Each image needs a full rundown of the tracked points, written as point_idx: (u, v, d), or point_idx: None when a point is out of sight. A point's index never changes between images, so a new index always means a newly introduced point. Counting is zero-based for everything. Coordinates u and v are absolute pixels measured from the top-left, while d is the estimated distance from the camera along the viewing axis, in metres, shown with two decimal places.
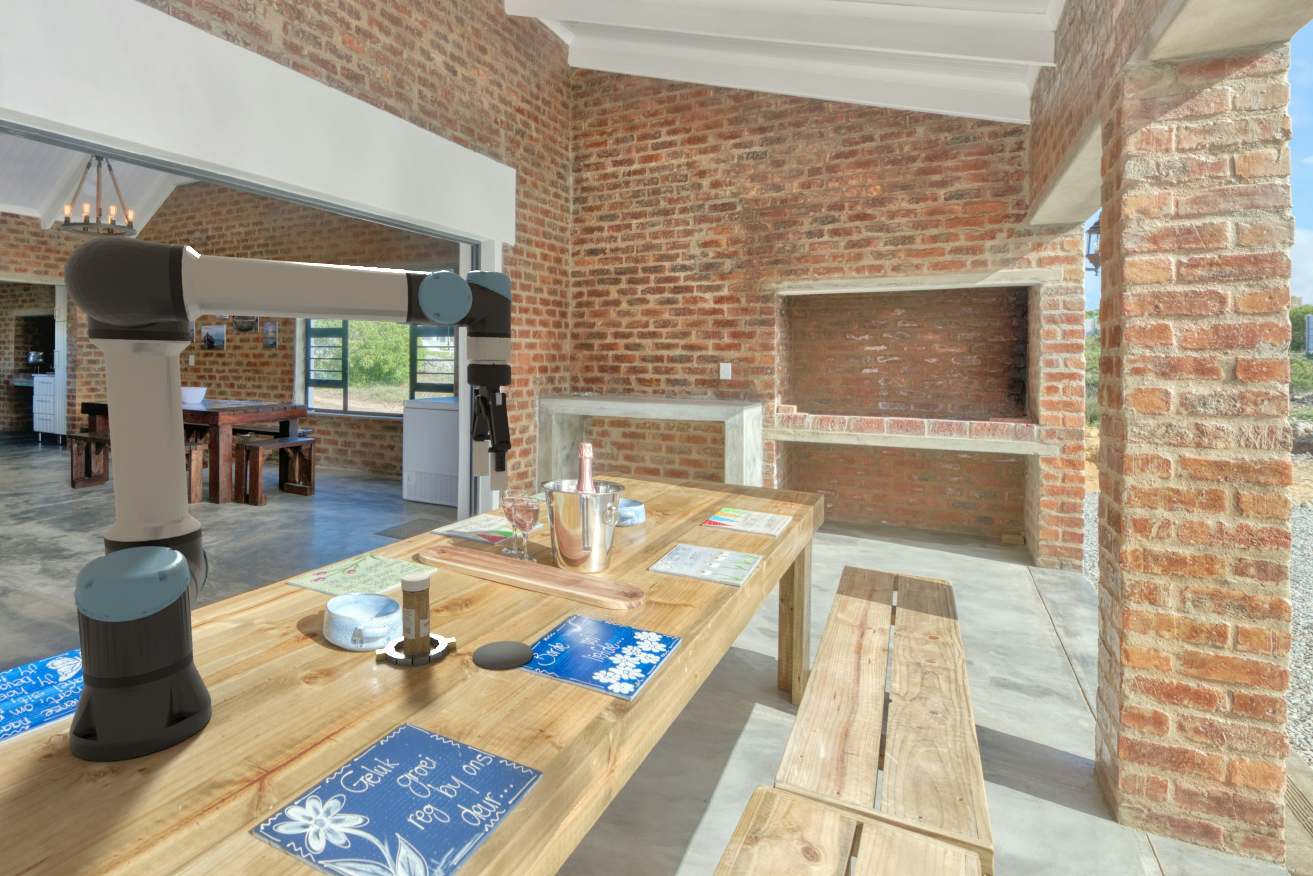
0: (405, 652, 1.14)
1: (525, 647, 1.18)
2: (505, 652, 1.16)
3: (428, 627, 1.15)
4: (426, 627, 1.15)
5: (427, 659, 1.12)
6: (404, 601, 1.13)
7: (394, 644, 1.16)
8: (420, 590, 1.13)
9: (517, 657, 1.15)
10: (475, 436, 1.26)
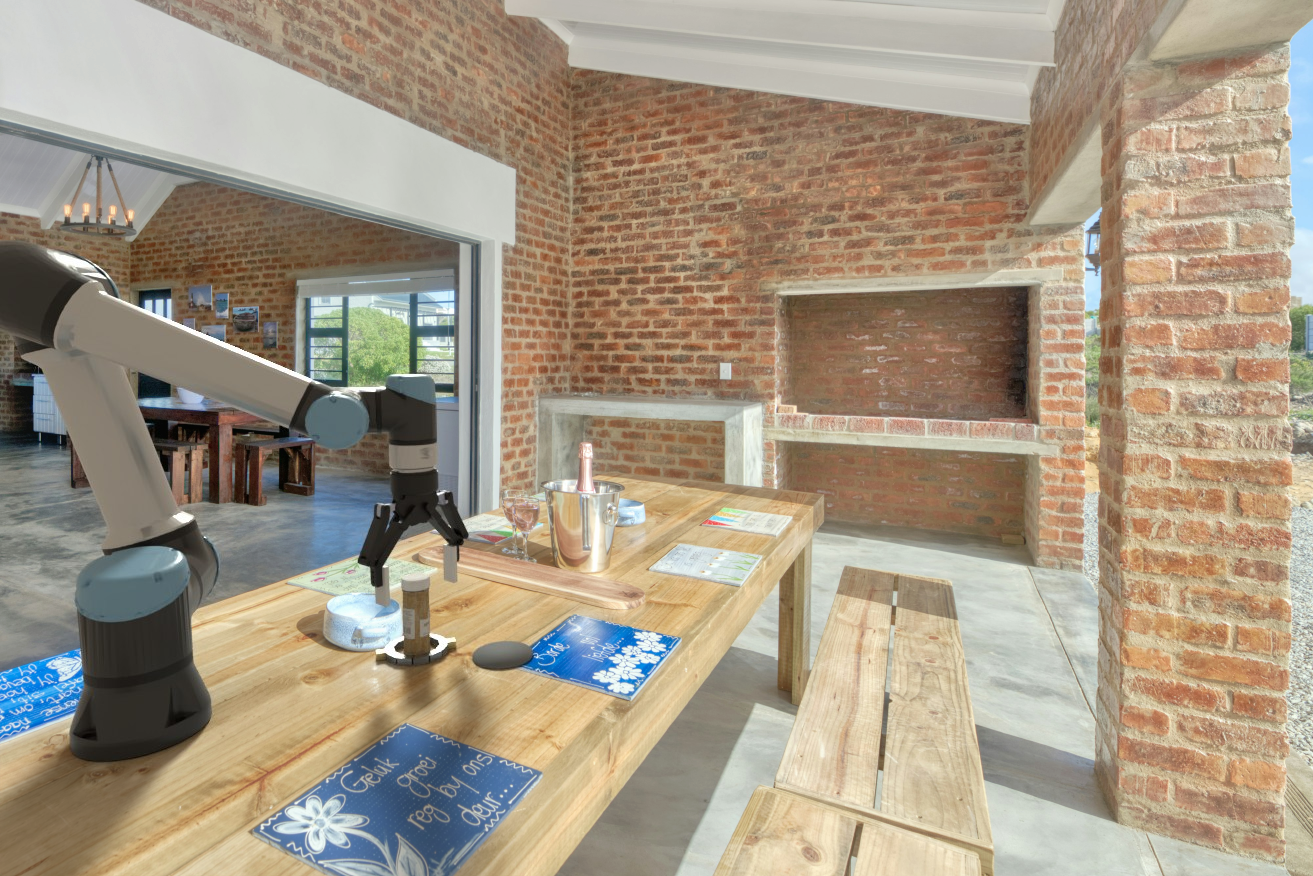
0: (405, 652, 1.14)
1: (525, 647, 1.18)
2: (505, 652, 1.16)
3: (428, 627, 1.15)
4: (426, 627, 1.15)
5: (427, 659, 1.12)
6: (404, 601, 1.13)
7: (394, 644, 1.16)
8: (420, 590, 1.13)
9: (517, 657, 1.15)
10: (445, 539, 1.20)
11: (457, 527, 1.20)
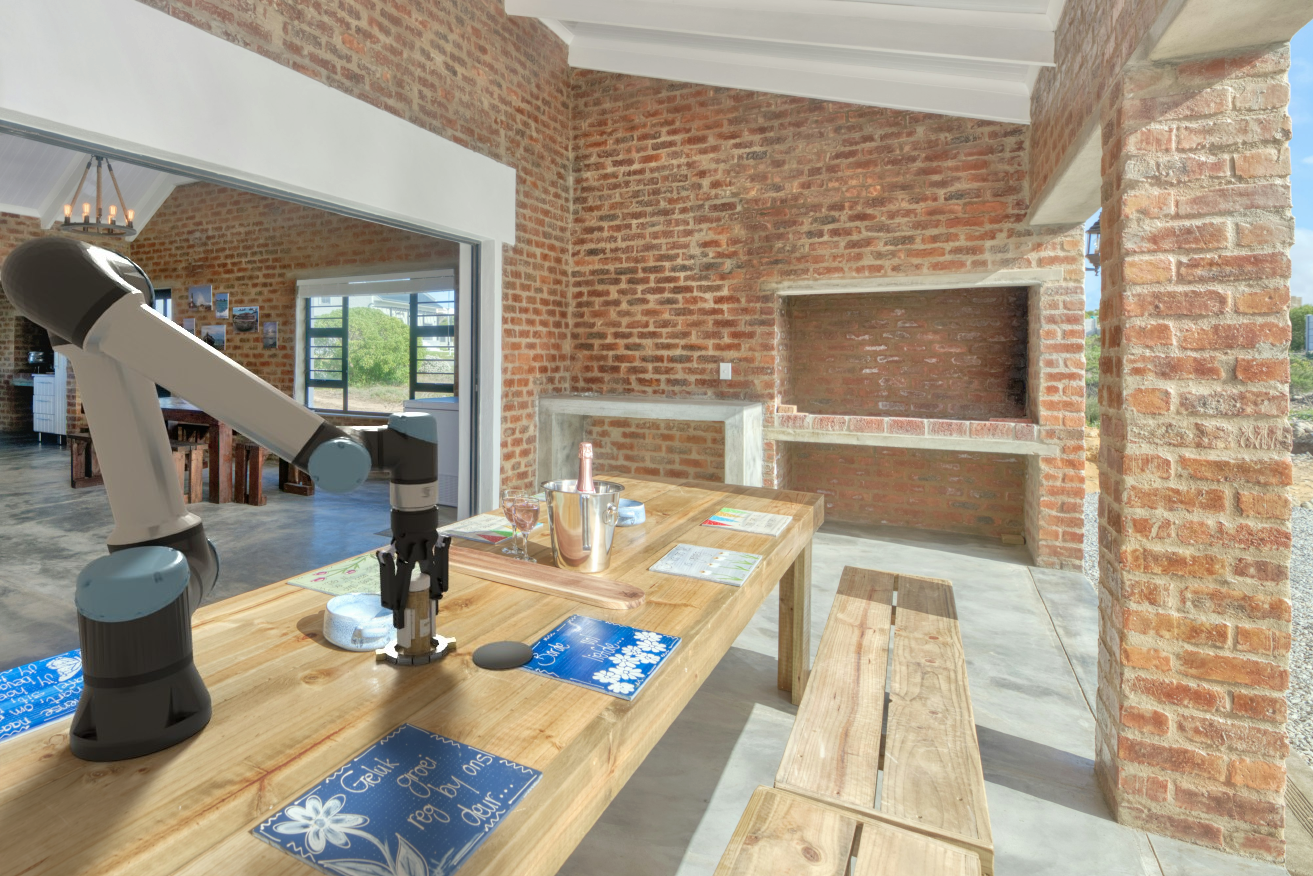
0: (405, 652, 1.14)
1: (525, 647, 1.18)
2: (505, 652, 1.16)
3: (428, 627, 1.15)
4: (426, 627, 1.15)
5: (427, 659, 1.12)
6: None
7: (394, 644, 1.16)
8: (420, 590, 1.13)
9: (517, 657, 1.15)
10: None
11: (441, 576, 1.18)
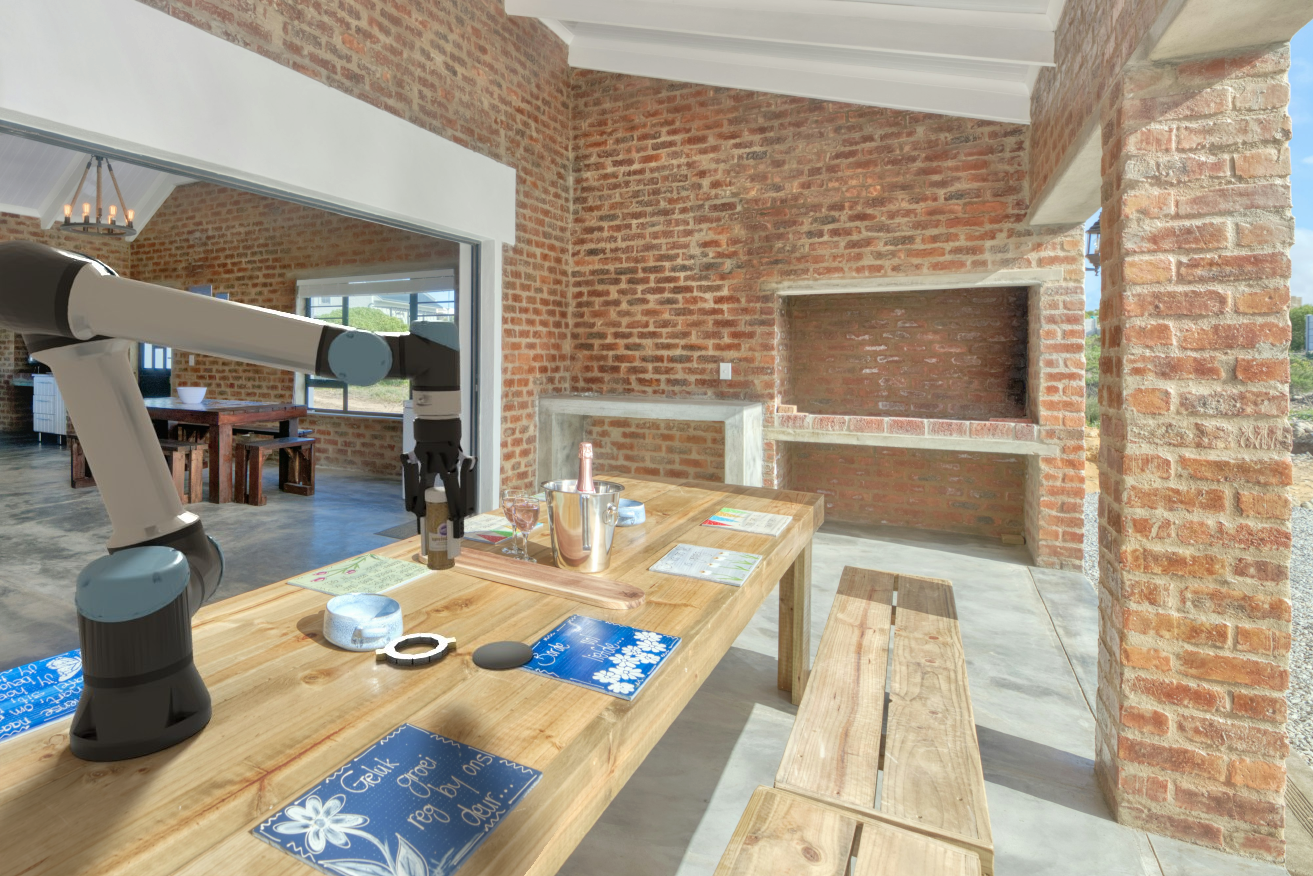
0: None
1: (525, 647, 1.18)
2: (505, 652, 1.16)
3: (438, 544, 1.12)
4: (435, 542, 1.12)
5: (427, 659, 1.12)
6: None
7: (394, 644, 1.16)
8: (428, 501, 1.11)
9: (517, 657, 1.15)
10: None
11: None
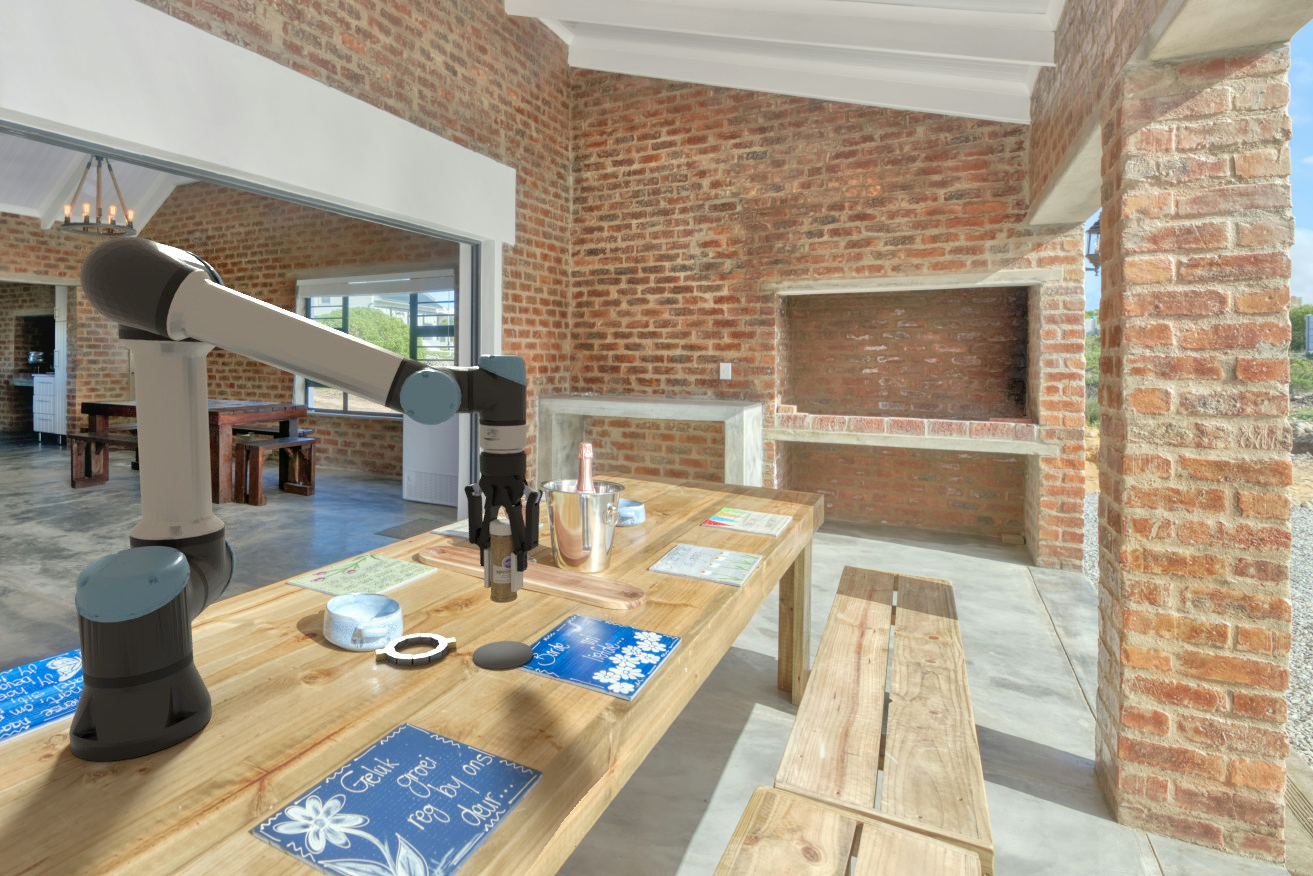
0: None
1: (525, 647, 1.18)
2: (505, 652, 1.16)
3: (503, 576, 1.12)
4: (499, 575, 1.12)
5: (427, 659, 1.12)
6: None
7: (394, 644, 1.16)
8: (493, 534, 1.11)
9: (517, 657, 1.15)
10: None
11: None
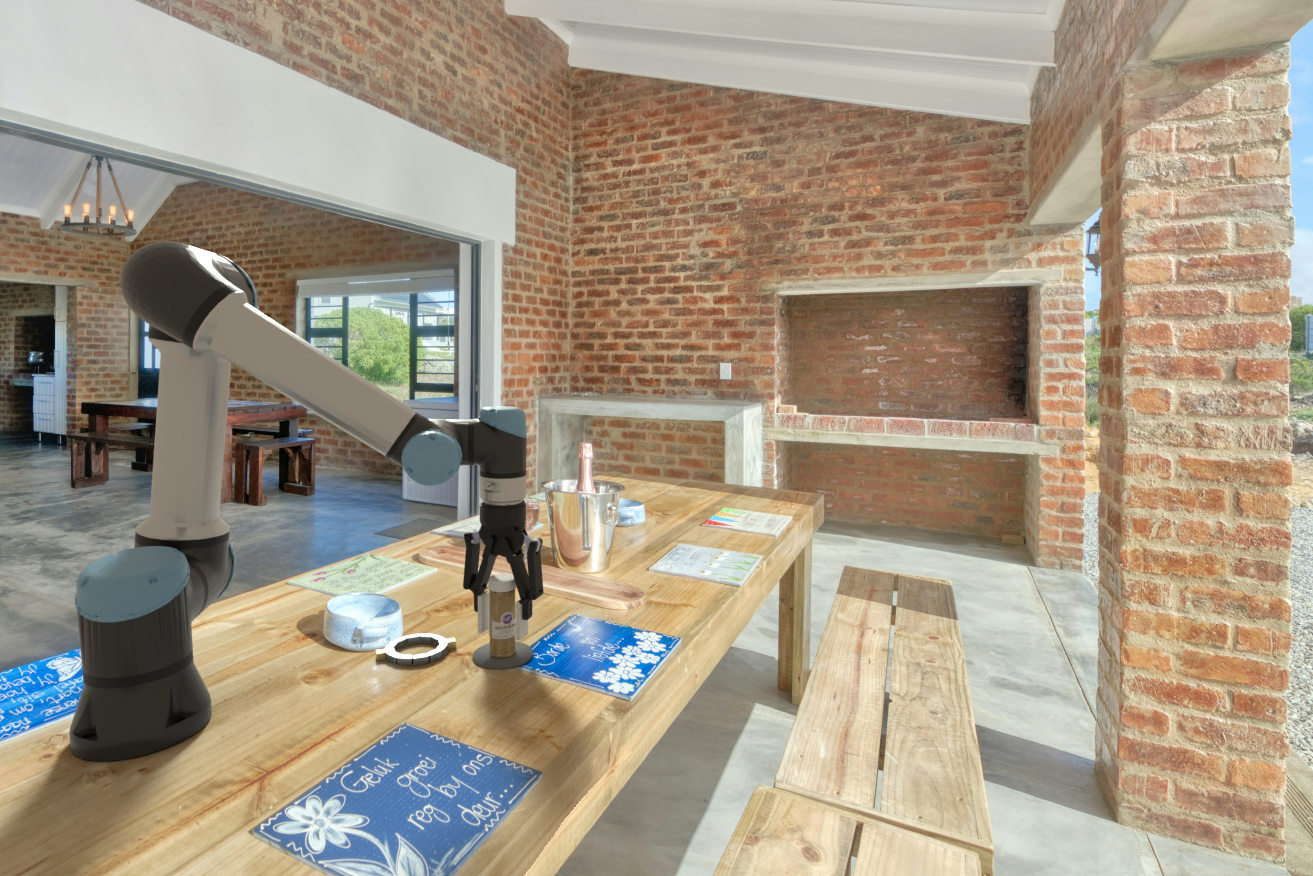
0: None
1: (525, 647, 1.18)
2: None
3: (501, 632, 1.13)
4: (498, 631, 1.13)
5: (427, 659, 1.12)
6: None
7: (394, 644, 1.16)
8: (492, 591, 1.13)
9: (517, 657, 1.15)
10: None
11: None
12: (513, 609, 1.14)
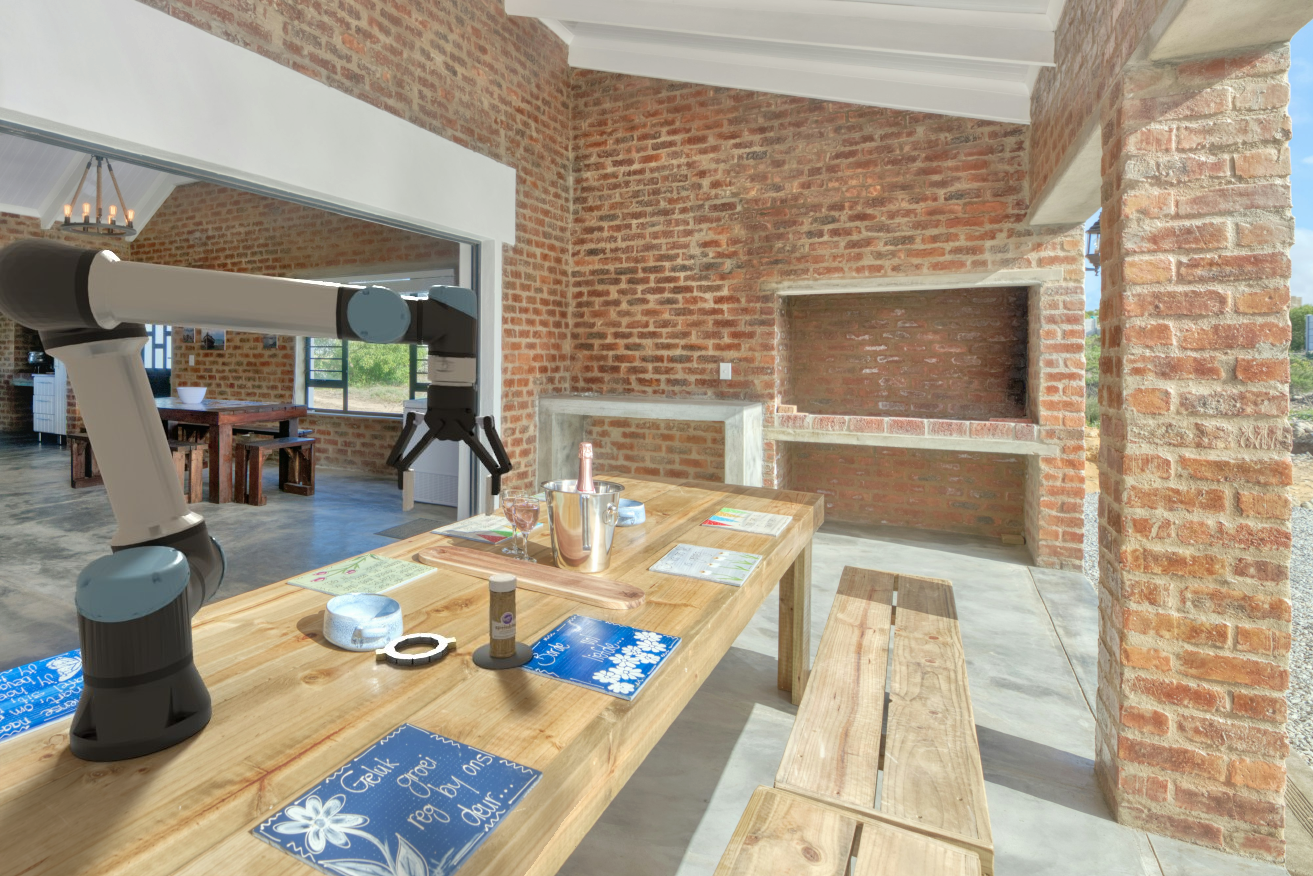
0: None
1: (525, 647, 1.18)
2: None
3: (501, 632, 1.13)
4: (498, 631, 1.13)
5: (427, 659, 1.12)
6: None
7: (394, 644, 1.16)
8: (492, 591, 1.13)
9: (517, 657, 1.15)
10: None
11: (496, 457, 1.11)
12: (513, 609, 1.14)
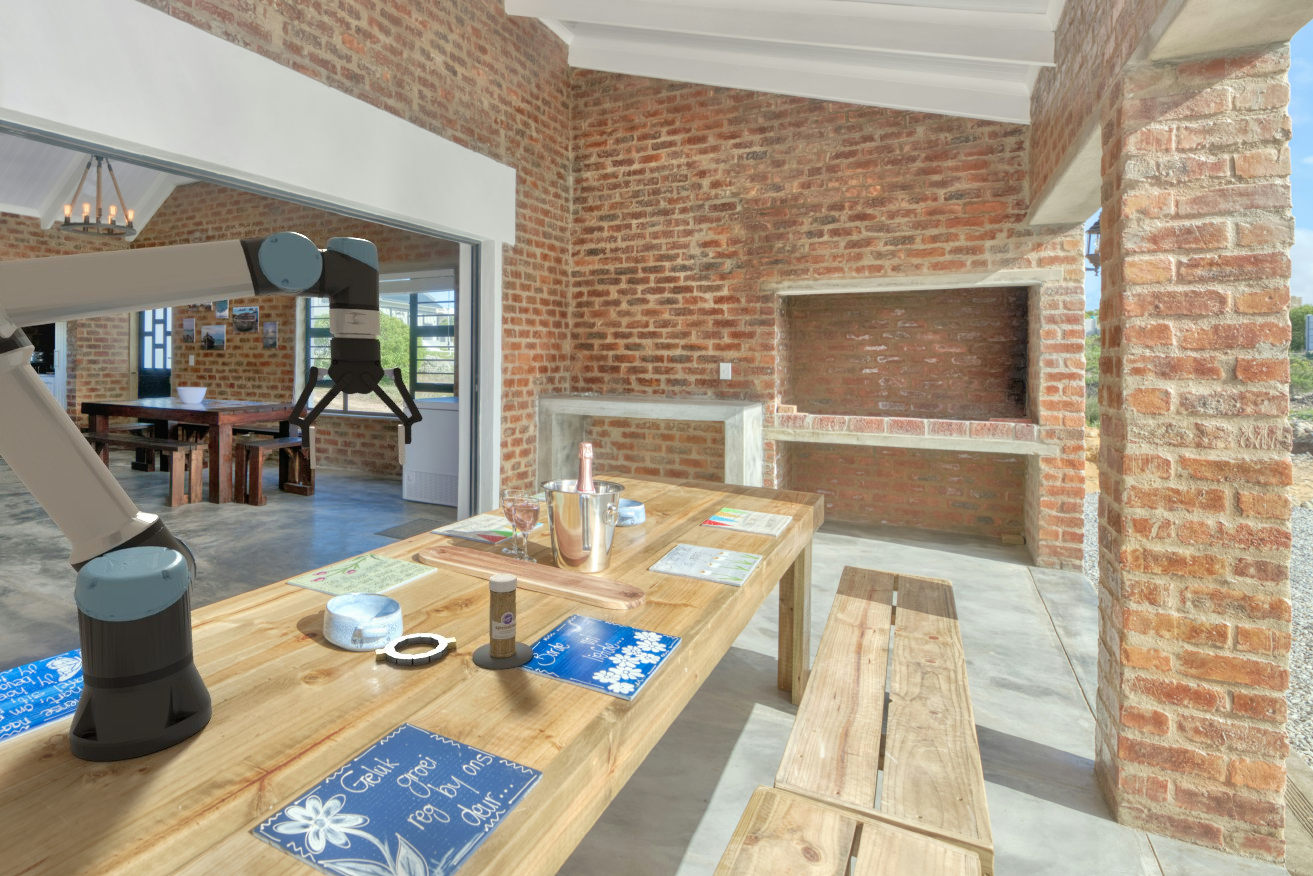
0: None
1: (525, 647, 1.18)
2: None
3: (502, 632, 1.13)
4: (498, 631, 1.13)
5: (427, 659, 1.12)
6: None
7: (394, 644, 1.16)
8: (493, 591, 1.13)
9: (517, 657, 1.15)
10: None
11: (408, 407, 1.16)
12: (513, 609, 1.14)
